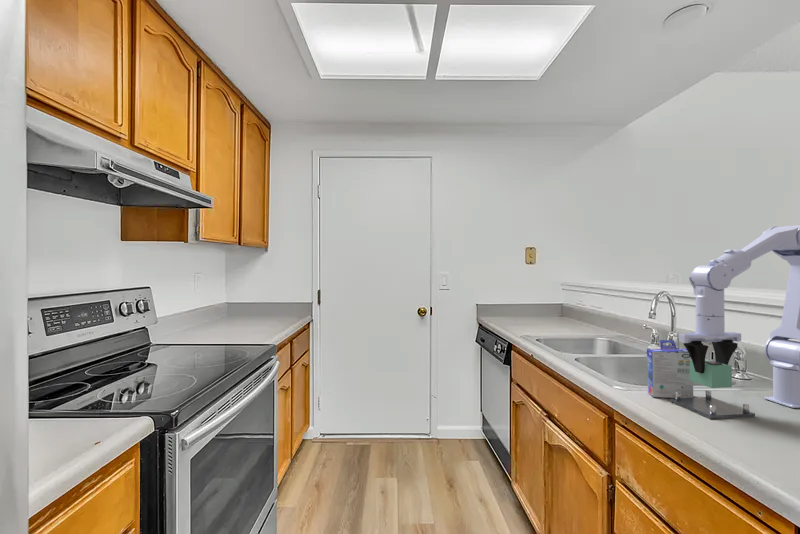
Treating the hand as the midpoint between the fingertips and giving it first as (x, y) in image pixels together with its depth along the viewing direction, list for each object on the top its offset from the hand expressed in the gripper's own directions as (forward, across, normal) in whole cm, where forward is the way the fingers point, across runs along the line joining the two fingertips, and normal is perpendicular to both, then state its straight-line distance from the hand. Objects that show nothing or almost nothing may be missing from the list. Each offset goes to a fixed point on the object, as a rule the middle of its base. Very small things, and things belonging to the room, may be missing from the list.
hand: (710, 371), depth 109 cm
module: (+3, 0, 0) cm, 3 cm away
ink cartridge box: (+9, -2, +12) cm, 15 cm away
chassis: (+9, 0, 0) cm, 9 cm away
